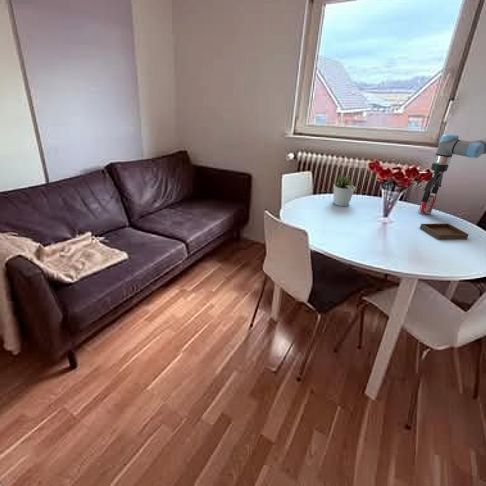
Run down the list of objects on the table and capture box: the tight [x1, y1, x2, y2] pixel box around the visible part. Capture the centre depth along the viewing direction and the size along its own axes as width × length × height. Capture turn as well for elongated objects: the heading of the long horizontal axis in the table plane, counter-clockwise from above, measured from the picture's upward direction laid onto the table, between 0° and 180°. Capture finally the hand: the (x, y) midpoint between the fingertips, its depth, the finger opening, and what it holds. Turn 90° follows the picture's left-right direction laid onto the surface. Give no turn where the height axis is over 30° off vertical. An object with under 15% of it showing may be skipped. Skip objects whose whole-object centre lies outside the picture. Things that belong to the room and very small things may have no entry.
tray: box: [419, 222, 470, 241], centre depth 158 cm, size 13×15×3 cm
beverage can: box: [418, 193, 437, 215], centre depth 181 cm, size 6×6×12 cm
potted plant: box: [331, 174, 356, 207], centre depth 192 cm, size 13×14×20 cm
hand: (428, 199), depth 180 cm, fingers open, 13 cm apart
